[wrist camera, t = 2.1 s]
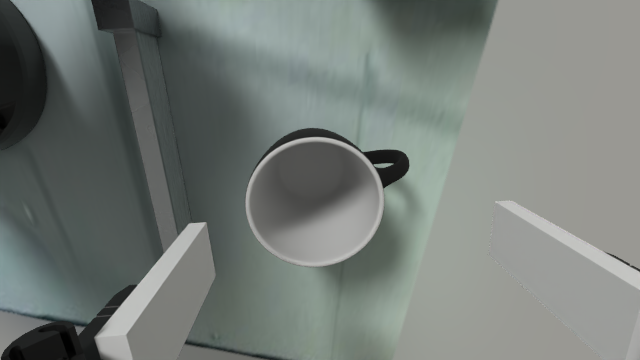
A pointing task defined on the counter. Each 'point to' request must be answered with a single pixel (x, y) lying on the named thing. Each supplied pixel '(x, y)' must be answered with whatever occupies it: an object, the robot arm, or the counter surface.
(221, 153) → the counter surface
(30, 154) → the counter surface
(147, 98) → the rail
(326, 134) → the mug
